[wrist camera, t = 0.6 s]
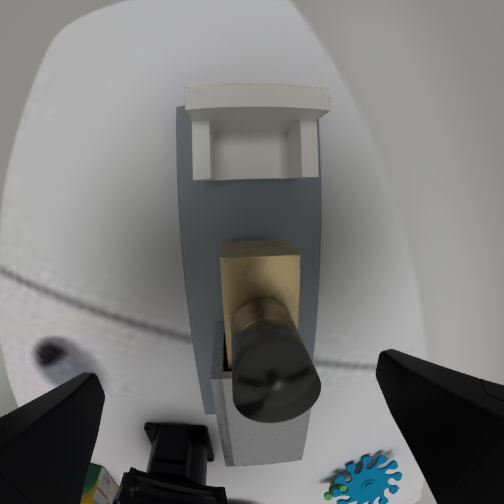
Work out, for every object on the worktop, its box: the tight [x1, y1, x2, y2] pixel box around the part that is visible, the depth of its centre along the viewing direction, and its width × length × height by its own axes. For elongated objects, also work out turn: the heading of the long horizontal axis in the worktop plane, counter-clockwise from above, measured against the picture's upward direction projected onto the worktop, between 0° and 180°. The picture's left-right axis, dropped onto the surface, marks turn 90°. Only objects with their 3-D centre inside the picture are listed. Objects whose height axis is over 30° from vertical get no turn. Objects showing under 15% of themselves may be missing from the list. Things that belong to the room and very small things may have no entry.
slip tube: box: [220, 239, 321, 423], centre depth 13 cm, size 14×4×9 cm, turn 2°
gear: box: [324, 454, 402, 504], centre depth 25 cm, size 11×6×10 cm
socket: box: [185, 84, 331, 181], centre depth 13 cm, size 4×6×6 cm, turn 92°
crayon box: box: [80, 463, 119, 504], centre depth 20 cm, size 7×3×12 cm, turn 0°
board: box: [176, 106, 321, 414], centre depth 19 cm, size 24×9×1 cm, turn 2°
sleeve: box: [211, 322, 316, 466], centre depth 17 cm, size 9×5×6 cm, turn 2°
